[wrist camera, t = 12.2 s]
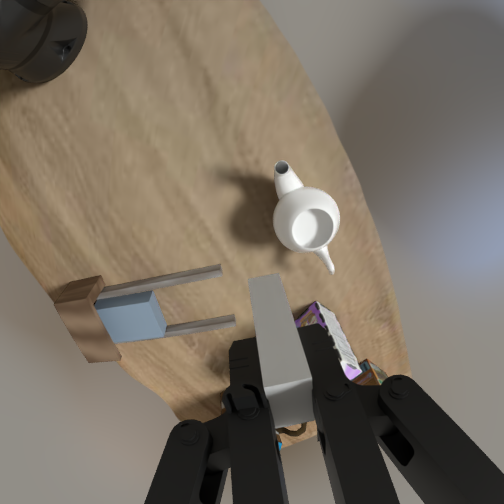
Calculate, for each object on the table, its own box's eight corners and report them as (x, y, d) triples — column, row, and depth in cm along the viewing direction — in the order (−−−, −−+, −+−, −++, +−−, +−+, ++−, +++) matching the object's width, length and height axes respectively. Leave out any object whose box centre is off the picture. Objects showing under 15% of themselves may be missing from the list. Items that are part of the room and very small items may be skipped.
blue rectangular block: (98, 298, 52) (91, 310, 48) (153, 289, 52) (148, 301, 48) (114, 330, 55) (108, 343, 51) (167, 323, 55) (164, 336, 51)
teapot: (297, 269, 52) (310, 299, 43) (240, 167, 44) (243, 180, 35) (345, 243, 50) (366, 269, 42) (296, 138, 42) (313, 143, 34)
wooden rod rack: (70, 281, 49) (53, 304, 42) (217, 250, 49) (216, 274, 42) (100, 339, 55) (90, 364, 48) (235, 319, 55) (237, 347, 48)
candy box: (288, 355, 61) (304, 417, 46) (267, 345, 59) (279, 409, 44) (335, 313, 57) (364, 372, 42) (315, 299, 55) (342, 361, 40)
